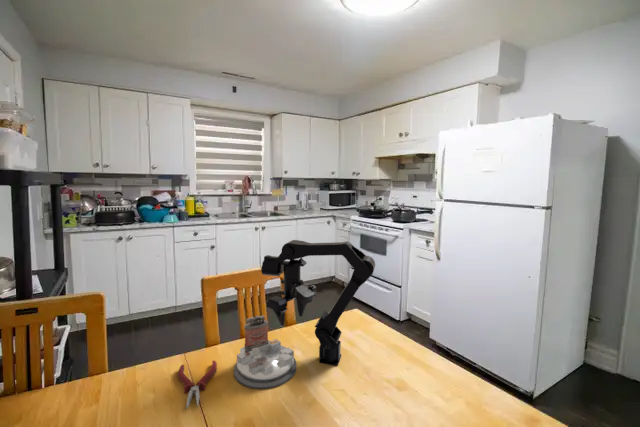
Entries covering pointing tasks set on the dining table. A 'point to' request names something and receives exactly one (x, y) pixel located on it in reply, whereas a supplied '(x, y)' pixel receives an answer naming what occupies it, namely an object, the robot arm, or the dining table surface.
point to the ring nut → (265, 362)
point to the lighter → (256, 332)
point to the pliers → (199, 385)
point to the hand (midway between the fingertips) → (291, 320)
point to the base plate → (265, 384)
